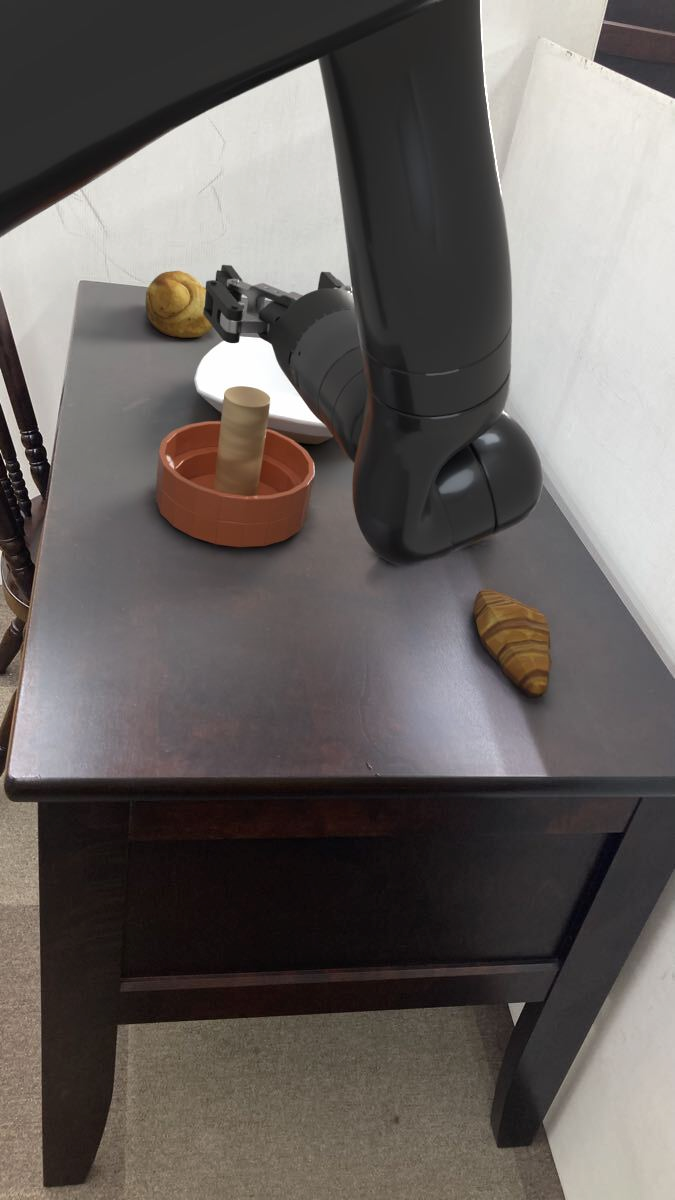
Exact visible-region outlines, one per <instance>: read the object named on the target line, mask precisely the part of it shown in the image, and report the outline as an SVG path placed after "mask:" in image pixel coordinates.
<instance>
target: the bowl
mask: <svg viewBox="0 0 675 1200" xmlns="http://www.w3.org/2000/svg"><path fill="white" fill-rule="evenodd" d="M193 382H194V385H195V388H196V392H197V393H198V394H199V395H200V396H201V397H202V398H203V399H204V400H205V401H207V403H208V404H210V405H211V406H212V407H213V408H214V409H215V410H217V411H218V412H219V413H220V414H221V415H222V408H223V399H224V392H225V391H226V390H227V389H228V388H231V387H235V386H247V387H253V388H257V389H259V390H262V391H264V392H265V393H267V394H268V395H269V396H270V398H271V403H270V410H269V417H268V423H267V429H270V430H273V431H276V432H278V433H280V434H282V435H284V436H286V437H288V438H290V439H292V440H294V441H295V442H296V443H298V444H307V445H308V444H309V445H319V444H320V445H321V444H323V443H324V442H327V441H328V440H330V439H332V438H334V437H333V435H332V434H331V432H330V431H329V430H328V428H327V427H326V426H325V425H324V424H323V423H322V422H321V421H320V420H319V419H318V418H317V417H316V416H315V415H314V414H313V413H312V412H311V411H310V409H309V408H308V406H307V405H306V404H305V402H304V401H303V399H302V398H301V397H300V395H299V394H298V392H297V391H296V390H295V388H294V387H293V385H292V384H291V382H290V381H289V380H288V378H287V377H286V375H285V374H284V373H283V371H282V370H281V368H280V366H279V364H278V362H277V360H276V357H275V354H274V350H273V347H272V345H271V344H270V343H269V342H267V341H265V340H263V339H262V338H260V337H254V336H253V337H252V336H241V335H240V340H239V342H238V343H228V342H225V341H224V340H222V341H220V342H219V343H218V344H217V345H215V346H214V347H213V348H211V349H210V350H209V351H208V352H207V353H206V354H205V355H204V356H203V357H202V358H201V360H200V362H199V364H198V366H197V368H196V370H195V375H194V379H193Z"/></svg>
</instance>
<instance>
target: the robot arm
mask: <svg viewBox="0 0 675 1200" xmlns="http://www.w3.org/2000/svg"><path fill="white" fill-rule="evenodd" d="M482 25H483V23H482V0H0V239H1V238H3V237H4V236H5V235H7V234H9V233H10V232H11V231H13V230H14V229H16V228H18V227H20V226H22V225H23V224H24V223H26V222H28V221H30V220H31V219H33V218H35V217H36V216H38V215H39V214H42V213H43V212H44V211H46V210H47V209H50V208H51V207H53V206H54V205H56V204H58V203H60V202H62V201H63V200H65V199H66V198H68V197H69V196H71V195H73V194H74V193H76V192H78V191H79V190H81V189H83V188H85V187H86V186H87V185H89V184H90V183H93V181H96V180H97V179H99V178H100V177H102V176H104V175H105V174H107V173H108V172H110V171H112V170H113V169H114V168H116V167H117V166H119V165H121V164H122V163H124V162H125V161H126V160H128V159H129V158H131V157H132V156H134V155H136V154H137V153H138V152H140V151H141V150H143V149H145V148H146V147H148V146H149V145H151V144H153V143H155V142H156V141H157V140H159V139H161V138H162V137H164V136H165V135H167V134H169V133H170V132H172V131H174V130H175V129H177V128H179V127H181V126H183V125H185V124H187V123H188V122H190V121H192V120H194V119H195V118H198V117H199V116H201V115H203V114H205V113H207V112H209V111H211V110H213V109H215V108H218V107H219V106H221V105H224V104H225V103H227V102H230V101H231V100H233V99H235V98H238V97H239V96H241V95H243V94H245V93H247V92H250V91H253V90H254V89H256V88H259V87H261V86H263V85H265V84H267V83H270V82H271V81H273V80H276V79H278V78H281V77H283V76H284V75H286V74H288V73H291V72H293V71H296V70H297V69H300V68H302V67H304V66H307V65H308V64H310V63H311V64H312V63H313V62H315V61H318V65H319V70H320V75H321V80H322V85H323V91H324V96H325V102H326V108H327V112H328V113H327V114H328V119H329V125H330V132H331V138H332V143H333V151H334V157H335V164H336V172H337V180H338V181H337V182H338V187H339V195H340V203H341V212H342V221H343V229H344V235H345V245H346V252H347V262H348V268H349V269H348V271H349V278H350V285H345V284H344V283H343V282H342V281H341V280H340V279H338V278H336V277H335V275H333V274H332V272H331V271H321V272H320V274H319V279H318V283H317V284H318V285H317V289H315V290H312V291H310V292H308V293H305V294H301V293H298V292H295V291H290V292H287V291H284V290H282V289H279V288H277V287H274V286H271V285H269V284H267V283H265V282H261V283H257V284H254V285H253V284H250V283H248V282H244V281H243V279H242V277H241V276H240V275H239V273H238V272H237V271H236V269H235V267H233V265H231V264H222V265H221V268H220V269H217V270H216V272H215V279H212V280H211V279H210V280H206V282H205V288H206V295H205V306H204V310H203V314H204V316H205V317H206V318H207V320H208V321H209V322H210V323H211V325H212V326H213V327H212V328H213V329H214V330H215V332H217V334H218V335H219V336H220V338H221V339H222V341H225V342H228V343H238V342H239V340H240V336H241V335H242V334H257V335H258V337H259V338H262V339H263V340H265V341H267V342H269V343H270V344H271V345H272V347H273V350H274V354H275V357H276V360H277V362H278V364H279V366H280V368H281V370H282V371H283V373H284V374H285V375H286V377H287V378H288V380H289V381H290V382H291V384H292V385H293V387H294V388H295V390H296V391H297V392H298V394H299V395H300V397H301V398H302V399H303V401H304V402H305V404H306V405H307V406H308V408H309V409H310V411H311V412H312V413H313V414H314V415H315V416H316V417H317V418H318V419H319V420H320V421H321V422H322V423H323V424H324V425H325V426H326V427H327V428H328V430H329V431H330V432H331V434H332V435H333V437H332V438H334V440H335V441H336V442H337V444H338V445H339V446H340V448H341V449H342V451H343V452H344V454H345V455H346V456H347V457H348V459H349V460H350V461H351V462H352V463H353V471H352V480H351V484H352V485H351V486H352V489H351V490H352V504H353V510H354V514H355V519H356V523H357V525H358V527H359V530H360V532H361V534H362V536H363V538H364V540H365V541H366V543H367V544H368V546H369V547H370V548H371V549H372V551H374V552H375V553H376V555H378V556H379V557H380V558H382V559H384V560H385V561H387V562H389V563H390V562H391V564H394V565H396V566H399V567H407V568H414V567H416V568H417V567H420V566H424V565H427V564H431V563H433V562H436V561H439V560H440V559H443V558H445V557H447V556H449V555H450V554H453V553H455V552H457V551H460V550H463V549H464V548H467V547H469V546H472V545H474V544H475V543H479V542H480V541H481V542H482V540H485V539H488V538H490V537H491V536H494V535H496V534H499V533H501V532H503V531H506V530H508V529H510V528H512V527H514V526H516V525H518V524H520V523H521V522H522V521H524V520H525V519H527V518H528V517H529V516H530V515H531V514H532V513H533V511H534V510H535V509H536V507H537V505H538V503H539V501H540V499H541V496H542V495H541V494H542V491H543V488H544V487H543V486H544V473H543V466H542V461H541V458H540V455H539V452H538V450H537V448H536V446H535V444H534V442H533V440H532V439H531V438H530V436H529V434H528V433H527V432H526V430H525V429H524V428H523V427H522V426H521V425H520V423H519V422H518V421H517V420H516V419H515V418H514V417H513V416H511V415H510V414H509V413H508V412H506V411H505V408H506V406H507V403H508V400H509V398H510V397H509V396H510V390H511V382H512V381H511V380H512V379H511V378H512V345H513V344H512V340H513V280H512V279H513V277H512V264H511V253H510V252H511V251H510V244H509V243H510V242H509V233H508V228H507V221H506V214H505V207H504V201H503V193H502V189H501V188H502V187H501V183H500V176H499V170H498V165H497V164H498V163H497V159H496V151H495V144H494V138H493V131H492V125H491V124H492V123H491V120H490V119H491V118H490V108H489V101H488V92H487V83H486V74H485V73H486V72H485V59H484V57H485V56H484V44H483V26H482ZM242 296H245V297H246V298H247V306H246V308H245V303H244V302H242ZM266 299H268V300H270V302H269V303H268V304H267V305H265V303H266Z"/></svg>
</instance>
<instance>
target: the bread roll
mask: <svg viewBox="0 0 675 1200" xmlns="http://www.w3.org/2000/svg"><path fill="white" fill-rule="evenodd" d="M205 295H206V287H204V286H203V285H202V283H201V282H200V281H199V280H197V278H195V277H194V276H193V275H191V274H190V273H187V272H184V271H181V270H173V271H164V272H161V273H160V274H158V275H157V276H156V277H154V279H152V281H151V282H150V284H149V285H148V287H147V290H146V293H145V311H146V315H147V317H148V320H149V321H150V323H151V324H152V326H153V327H154V328H155V329H156V330H157V331H159V332H161V333H162V334H164V335H166V336H170V337H174V338H181V339H182V338H183V339H185V338H186V339H187V338H198V337H203V336H204V335H206V334H207V333H208V332H209V331H210V330H212V328H214V327H213V326H212V325H211V323H210V322H209V321H208V320H207V318H206V317H205V316H204V314H203V310H204V306H205Z"/></svg>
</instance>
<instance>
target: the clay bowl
mask: <svg viewBox="0 0 675 1200" xmlns="http://www.w3.org/2000/svg"><path fill="white" fill-rule="evenodd" d="M220 426H221V420H215V421H214V420H208V421H207V420H206V421H201V422H196V423H190V424H186V425H184V426H181V427H179V428H176V429H174V430H172V431H170V432H169V433H168V434H167V435H166V436H165V437H164V438H163V439H162V440H161V442H160V445H159V450H158V456H157V457H158V458H157V468H156V469H157V471H156V472H157V473H156V484H155V485H156V486H155V488H156V489H155V503H156V505H157V508H158V511H159V513H160V515H162V516H163V518H164V519H165V520H166V521H167V522H168V523H169V524H171V526H172V527H174V528H176V529H177V530H179V531H181V532H183V533H185V534H186V535H188V536H190V537H192V538H195V539H198V540H201V541H205V542H207V543H211V544H214V545H219V546H228V547H235V548H251V547H264V546H265V547H266V546H269V545H273V544H276V543H280V542H284V541H286V540H287V539H289V538H291V537H292V536H293V535H296V534H297V533H298V532H300V531H301V529H302V528H303V526H304V524H305V523H306V521H307V517H308V511H309V508H310V501H311V496H312V491H313V487H314V480H315V473H316V471H315V461H314V460H313V458H312V457H311V455H310V454H309V452H308V450H307V449H305V447H302V445H300V443H298V442H295V441H294V440H292V439H290V438H288V437H286V436H284V435H282V434H280V433H278V432H276V431H273V430H270V429H267V430H266V437H265V444H264V451H263V458H262V465H261V472H260V478H259V485H258V492H257V496H242V495H235V494H227V493H222V492H218V491H215V490H213V489H214V480H215V471H216V462H217V453H218V444H219V435H220Z"/></svg>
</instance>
